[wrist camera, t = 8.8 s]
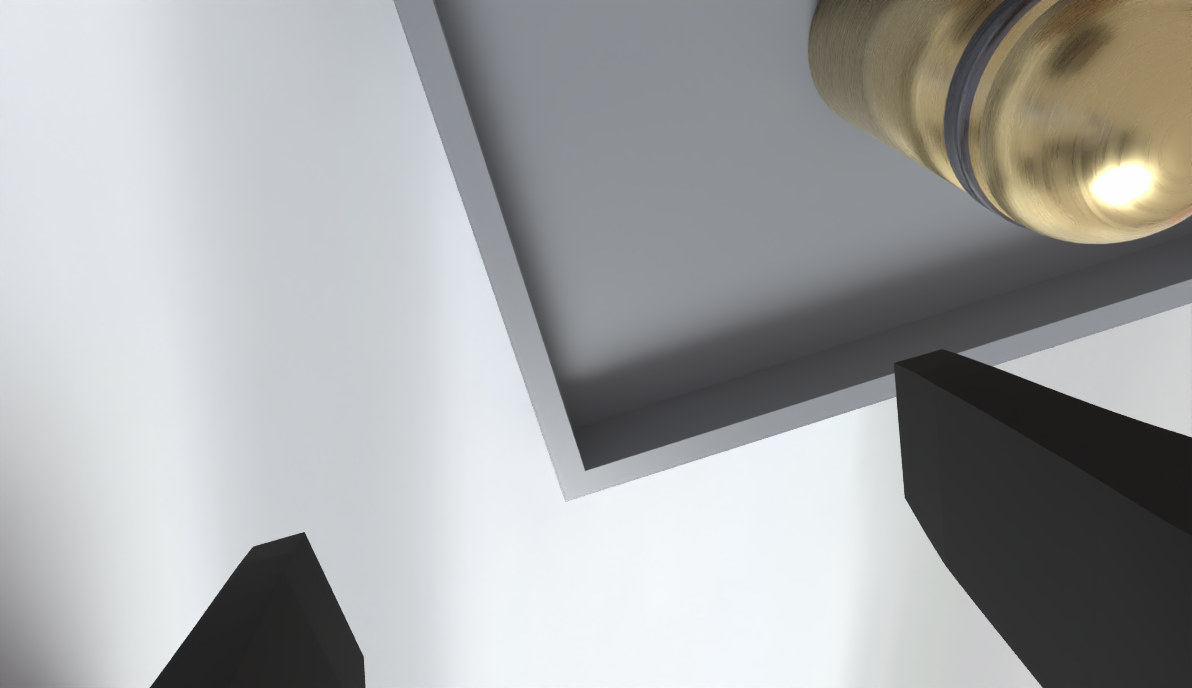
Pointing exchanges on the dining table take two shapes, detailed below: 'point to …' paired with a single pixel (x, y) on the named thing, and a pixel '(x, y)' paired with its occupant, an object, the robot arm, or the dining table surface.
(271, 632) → the robot arm
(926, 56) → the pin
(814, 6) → the tray
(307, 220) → the dining table surface
